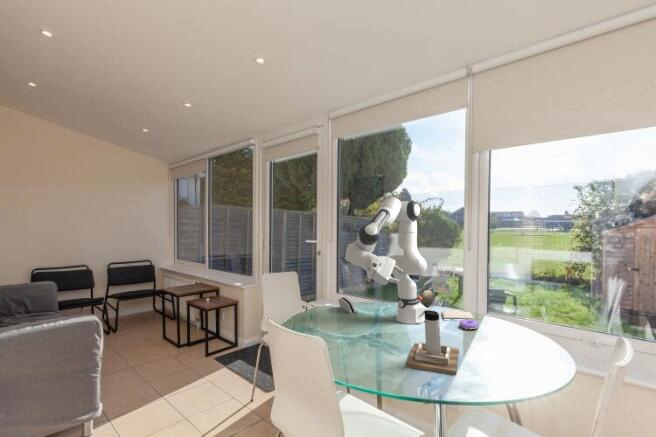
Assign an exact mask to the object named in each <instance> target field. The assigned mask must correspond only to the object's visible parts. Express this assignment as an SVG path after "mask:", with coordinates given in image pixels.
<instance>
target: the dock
mask: <svg viewBox="0 0 656 437" xmlns="http://www.w3.org/2000/svg"><path fill="white" fill-rule="evenodd" d="M440 345H441V357H440V356H433V355H426V342H421V341H420V342H419V343H418V342H415V343H414V344H413V347H412V349H411V350H410V353H409V355H408V358H407V360H406V362H405V367H406V368H413V369H418V370H424V371H430V372H437V373H442V374H443V373H444V374H450V375H457V371H458V364H457V363H459V362H458V361H459V356H458V354H459V355H460V348H457V347H451V345H444V344H440Z"/></svg>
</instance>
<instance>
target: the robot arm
mask: <svg viewBox="0 0 656 437" xmlns="http://www.w3.org/2000/svg"><path fill="white" fill-rule="evenodd" d="M420 214H421V206H420V205H419V203H418V202H417V201H413V200H410V201H407V200H405V201H404V200H403V201H401V200H400V199H399V198H397V197H393V196H392V197H388V198H387V199H385V200H384V201H383V202H382V203H381V205H380V206H379V207H378V209H377V210H376V212H375V215H374V216H373V218H372V219H371V220H370V221H369V222H367V223H366V224H364V225H362V226H360V228H359V231H358V236H357V239H356V240H355V241H354V242H352V243H348V244H347V245H346V246H345V250H344V254H343V258H344V260H346V261H347V262H349V263H350V264H352V265H354V266H356V267H360V268H362V269H363V270H364V271H366V275H367V277H366V278H368V279H369V280H373V281H374V282H376V283H378V284H381V285H382V286H387V285H388V283H395V284H396V285H397V310H396V311H397V312H396V315H395V316H396V321H397V322H399V323H400V324H408V325H412V324H413V325H421V323H422V322H424V321H425V313H424V311H426V310H428V307H425V306H424V304H423V303H422V302H421V301H420V300H422V297H420V296H417V295H418V291H417V284H416V282H415V281H414V280H413V279H412V278H411V277H410V276H411V275H412V276H419V275H421V276H422V275H424V274H425V273H426V271H427V269H428V263H427V261H426V259H425V258H424V257H423V256H422V255H421V253H420V251H419V249H418V248H419V247H418V223H417V219H418V218H419V217H420ZM395 221H399V223H398V231H397V232H398V233H397V245H398V247H399V248H400V249H402V250H403V252H404V255H401V254H395V255H390V256H387V255H376V254H374V253H373V252H374V250H375V248H376V245H377V243H378V241H379V238H380V236H381V229H382V228H383V227H390V226H391V225H392V224H393V223H394V222H395ZM391 275H393V277H394V278H393V277H392V276H391ZM424 323H425V322H424ZM422 324H423V323H422Z"/></svg>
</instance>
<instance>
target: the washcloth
mask: <svg viewBox="0 0 656 437" xmlns="http://www.w3.org/2000/svg"><path fill="white" fill-rule="evenodd" d="M440 314H441V316H442V315H443V316H442V318H444V319H474V318H475V316H474V314H473V313H472V312H471V311H464V310H463V311H462V310H442V311H441V313H440ZM472 315H473V316H474V317H473V316H472ZM444 319H443V320H444ZM474 320H475V319H474Z"/></svg>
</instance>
